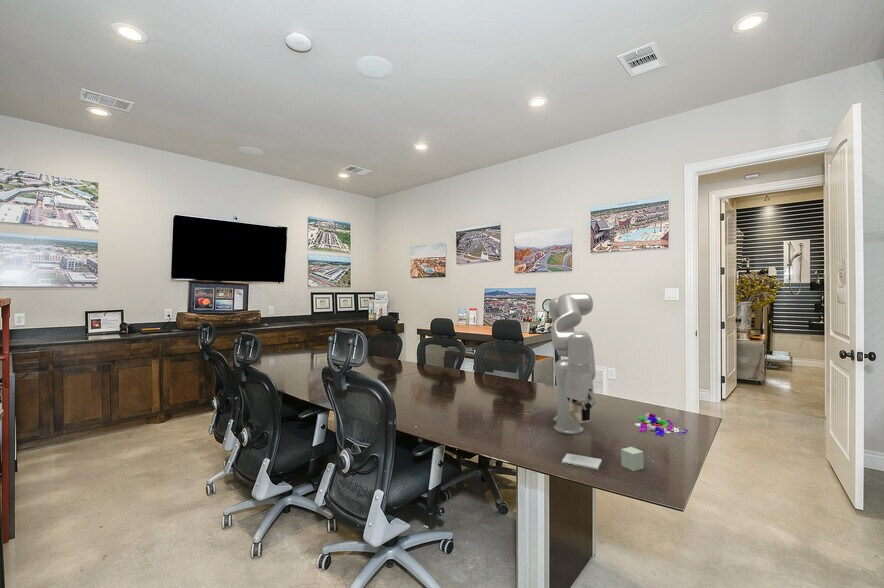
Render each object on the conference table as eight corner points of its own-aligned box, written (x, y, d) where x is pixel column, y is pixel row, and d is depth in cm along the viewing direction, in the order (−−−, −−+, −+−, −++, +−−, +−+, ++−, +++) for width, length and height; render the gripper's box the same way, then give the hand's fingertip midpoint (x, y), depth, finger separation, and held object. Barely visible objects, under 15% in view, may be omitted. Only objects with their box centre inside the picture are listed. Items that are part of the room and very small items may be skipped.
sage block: (621, 466, 140) (621, 449, 140) (631, 463, 142) (631, 446, 142) (633, 471, 136) (633, 454, 136) (643, 468, 138) (643, 451, 138)
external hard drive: (598, 472, 137) (561, 464, 143) (602, 463, 144) (567, 456, 150) (598, 467, 137) (561, 460, 143) (602, 458, 144) (567, 452, 150)
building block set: (681, 441, 163) (681, 430, 163) (628, 431, 177) (628, 421, 177) (691, 425, 182) (691, 416, 182) (643, 417, 196) (642, 408, 196)
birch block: (570, 419, 145) (569, 402, 145) (580, 417, 147) (580, 401, 147) (580, 423, 140) (579, 406, 140) (590, 421, 142) (590, 404, 142)
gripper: (555, 365, 150) (556, 413, 150) (588, 372, 135) (589, 426, 134) (570, 363, 153) (571, 410, 153) (605, 370, 138) (606, 423, 137)
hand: (580, 417), depth 144 cm, fingers closed on birch block, 4 cm apart
